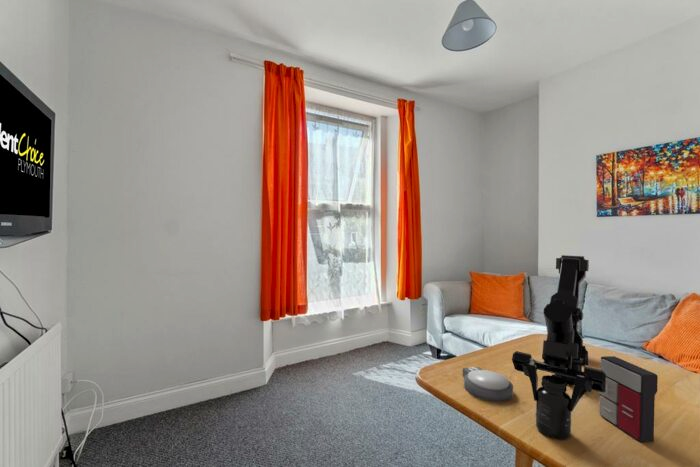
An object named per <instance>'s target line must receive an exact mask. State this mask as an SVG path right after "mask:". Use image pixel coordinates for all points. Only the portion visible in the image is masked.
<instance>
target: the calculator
mask: <svg viewBox="0 0 700 467" xmlns="http://www.w3.org/2000/svg"><path fill="white" fill-rule="evenodd" d="M600 370H603V371H604V372H605V374H606V387H605V392H599V401H598V403H599V404H598V407H599V408H598V411H599V412H598V414H599V415H600V416H601V417H602V418H604V419H605V420H607V421H608V422H610V423H611V424H613V425H614V426H616V427H617V428H619V429H620V430H622V431H624V432H625V433H627V434H628V435H630V436H631V437H632V438H634V439H635V440H637V441H639V442H640V443H649V442H651V443H652V442H654V439H655V403H656V402H655V400H656V398H655V396H656V394H657V393H658V379H659V378H658V375H657V374H656V373H655V372H652V371H649V370H647V369H645V368H642V367H640V366H638V365H636V364H633V363H631V362H628V361H627V360H624V359H622V358H619V357H617V356H614V355H611V356H610V355H609V356H607V355H606V356H600Z"/></svg>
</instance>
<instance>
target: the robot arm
mask: <svg viewBox="0 0 700 467" xmlns="http://www.w3.org/2000/svg"><path fill="white" fill-rule="evenodd" d="M589 262H590V261H589V259H585V256H583V255H568V254H567V255H565V254H563V255H562V254H561V257H556V258H555V269H556V270H558V274H559V275H558V276H559V277H558V282H557V289H556V292H555V293H554V294H553V295H552V294H551V296H550V299H549V303H547V304H546V305H545V307H544V308H543V317H544V320H545V326H546V330H547V329H548V333H546V339H545V340H543V343H542V355H541V359H542V360H543V361H538V360H536V359H534V358H532V357H533V356H532V354H530V353H527V352H522V351H517V350H515V352H513V353H512V356H511V361H512V364H513V369H514V370H515V371H518V372H520V373H523V374H524V376H526V377H528V378H529V381H530V384H531V390H532V394H533V395H532V396H533V400H534V401H535V402H536V400H537V390H538V389H539V385H538V384H539V382H538V381H539V377H538V373H537V372H538V370H539V371H543V372H545V373H546V372H547V373H551V374H552V375H551V376H555V377H559V378H561V379H563V380H565V381H566V386H573V389H572V393H571V396H570V398H571V401H570V411H571V413H572V412H574V409H575V408H576V406H577V405H578V404H579V401H580V400H581V399H582V398H583V397H584V395H585V394H586V393H592V392H593V391H594V392H598V393H600V392H605V387H606V374H605V372H604V371H603V370H601V369H598V368H595V367H591V366H590V367H588V366H589V351H588V350H587V348H586V345H584V340H583V338H582V336H581V334H580V332H579V331H578V330H577V329H578V328H579V325H578V324H579V323H580V322H581V321H582V320H583V319H584V312H583V311H582V307H581V308H580V307H579V306H580V305H579V303H580V301H579V300H580V285H581V283H582V282H583V281H584V280H585V278H586V274H587V272H589V266H590V265H589V264H590V263H589ZM582 367H583V368H582Z"/></svg>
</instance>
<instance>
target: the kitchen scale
mask: <svg viewBox="0 0 700 467" xmlns="http://www.w3.org/2000/svg"><path fill="white" fill-rule="evenodd" d="M462 377H463V380H464V381H463V388H464V389H465V392H467V393H468V394H470V395H471V396H473V397H475V398H477V399H480V400H483V401H488V402H496V403H497V402H498V403H499V402H500V403H502V402H508V401H510V400H511V399H513V396H514V385H513V383H512V382H511V381H510V380H509V379H508V378H507V377H506V376H505V375H503V374H500V373H498V372H495V371H491V370H486V369H485V370H484V369H482V368H481V367H479V366H478V367H477V366H476V367H473V366H472V367H469V366H468V367H463V368H462Z"/></svg>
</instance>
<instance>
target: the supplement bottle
mask: <svg viewBox="0 0 700 467" xmlns="http://www.w3.org/2000/svg"><path fill="white" fill-rule="evenodd" d="M540 384H541V386H540V387H538V390H537V400H536V401H535V402H536V404H535V405H536V406H535V413H536V414H535V425H536V426H535V427H536V428H537V430H538V431H539V432H540V433H541V434H543V435H545V436H547V437H549V438H552V439H555V440H564V441H565V440H567V439H569V438H570V437H571V435H572V434H571V432H572V431H571V430H572V429H571V428H572V412H571V411H570V401H571V396H570V394H568V392H567V391H568V389H567V388H568V387H567V385H566V381H565V380H563V379H561V378H559V377H555V376H552V375H548V374H547V375H543V376H542V377H541V383H540Z"/></svg>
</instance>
